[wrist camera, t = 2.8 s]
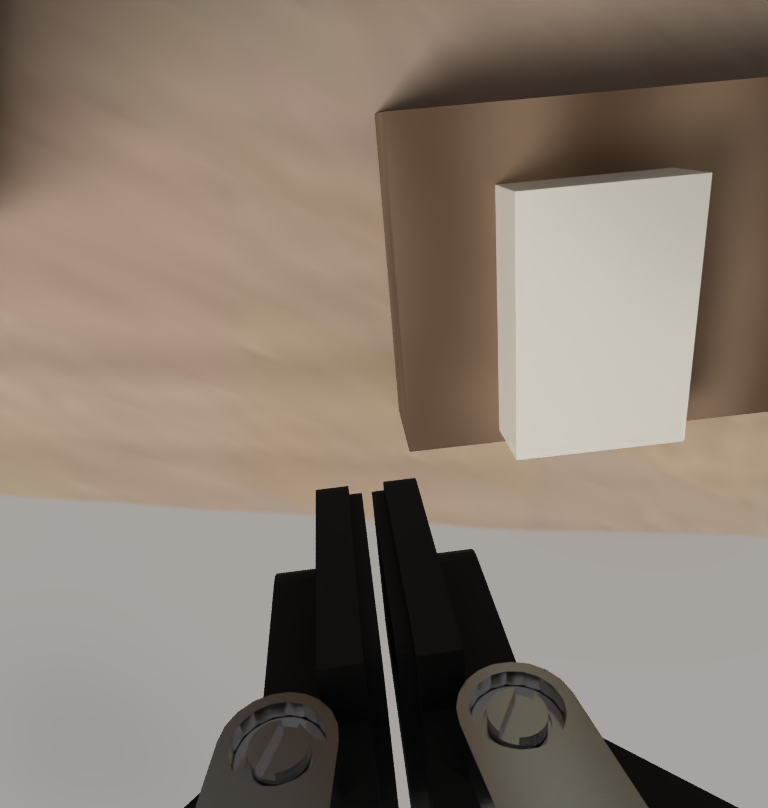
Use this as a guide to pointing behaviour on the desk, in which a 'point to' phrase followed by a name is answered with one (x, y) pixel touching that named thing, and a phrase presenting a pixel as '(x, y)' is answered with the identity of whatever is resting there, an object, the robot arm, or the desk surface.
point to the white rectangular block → (598, 308)
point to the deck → (551, 159)
